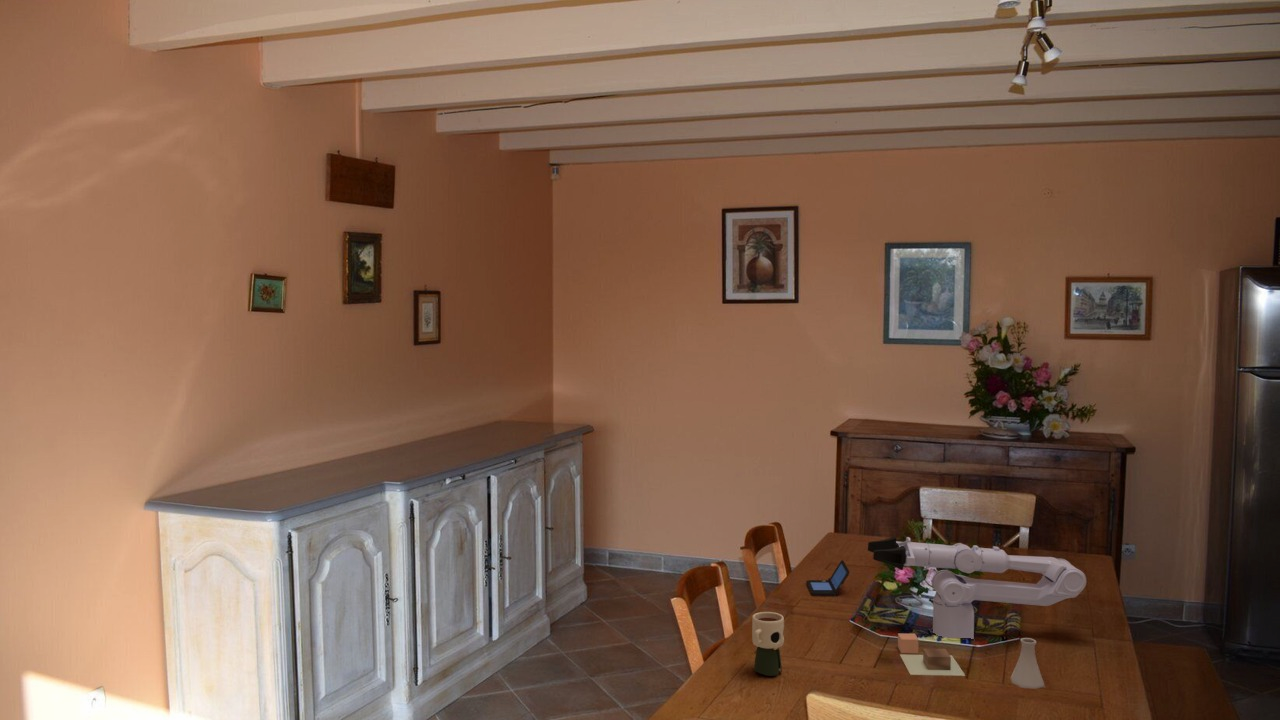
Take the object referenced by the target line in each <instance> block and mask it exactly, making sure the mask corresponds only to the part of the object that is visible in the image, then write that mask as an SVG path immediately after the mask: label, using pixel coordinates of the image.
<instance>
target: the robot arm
mask: <svg viewBox="0 0 1280 720" xmlns="http://www.w3.org/2000/svg"><path fill="white" fill-rule="evenodd" d="M897 539H898V538H897V537H896V535H893V536H891V537H887V538H885V539H882V540H880V539H879V540H874V541H869V542H868V543H867V551H868V552H870V553H873V555H872V559H873V560H874V561H877V562H881V563H884V564H887V565H890V566H893V567H895V568H896V569H899V570H900V571H903V570H904V567H910V566H911V567H912V566H913V567H927V568H938V569H942V570H938V571H937V572H935V573H934V574H933V576H932V579H931V587H932V588H933V590H934V591H935V595H934V596H933V599H932V601H933V602H932V607H933V608H932V610H933V611H932V629H933V633H935V634H936V635H938V636H942V637H947V638H971V639H974V638H975V637H974V635H975V633H974V632H975V611H974V606H973V604H972V602H973V601H983V602H984V601H985V602H994V603H995V602H996V603H1005V604H1006V603H1008V604H1017V605H1018V604H1019V605H1031V606H1043V607H1049V606H1052V605H1054V604H1057V603H1059V602H1061V601H1064V600H1066V599H1070V598H1071V599H1072V598H1073V599H1074V598H1077V597H1078V595H1080V594H1081V593H1082V591H1083V590H1084V589H1085V588H1086V585H1087V576H1086V574H1085V573H1084V572H1083V571H1082V570H1080V569H1079V568H1077V567H1075V566H1074V565H1073V564H1071V562H1070V561H1068V560H1066V559H1065V558H1057V557H1053V556H1035V555H1034V556H1033V555H1012V554H1011V555H1009V554H1008V553H1006V551H1005V550H1004V549H1000V547H998V546H992V548H990V547H988V548H985V547H979V546H978V545H972V547H970V546H968V545H967V544H963V543H962V542H957V543H955V544H953V545H948V544H941V543H940V544H939V543H925V542H914V541H913V542H912V541H911V537H909V536H906V537H905V540H904V541H897ZM948 569H957V570H959V571H961V573H966V574H971V573H973V572H986V573H996V574H1003V573H1005V572H1006V571H1007V570H1013V571H1023V572H1028V573H1036V574H1038V573H1039V574H1042V577H1041V579H1039V581H1038V582H1037V583H1028V582H1015V581H1005V580H1004V581H1003V580H994V579H982V578H981V579H979V578H972V577H968V576H966V575H963V574H956V573H954V572H953V571H951V570H948ZM974 640H975V639H974Z"/></svg>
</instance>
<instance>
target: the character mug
mask: <svg viewBox="0 0 1280 720" xmlns="http://www.w3.org/2000/svg"><path fill="white" fill-rule="evenodd" d="M751 619H752V620H751V626H752V627H751V630H752V632H751V634H752V635H751V638H752V639H751V640H752V645H754V646H756V647H757V648H756V651H755V656H754V665H753V670H754V672H755V673H758V674H761V675H764V676H772V677H773V676H778V675H780V673H783V672H782V671H783V670H782V659H781V658H782V657H781V651H780V648H781V647H783V645H784V643H785V637H784V628H785V618H784V616H783V615H782V614H781V613H778V612H774V611H760V612H757V613H754V614H752V617H751ZM779 670H780V672H779Z"/></svg>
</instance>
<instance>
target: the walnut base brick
mask: <svg viewBox="0 0 1280 720" xmlns="http://www.w3.org/2000/svg"><path fill="white" fill-rule="evenodd" d="M922 655H923V662H924V664H925V665H926V667H927V669H928V670H951V657H950V654H949V652H948V651H947V649H946V648H922Z"/></svg>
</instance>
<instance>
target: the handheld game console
mask: <svg viewBox="0 0 1280 720" xmlns="http://www.w3.org/2000/svg"><path fill="white" fill-rule="evenodd" d="M848 576H850V570H849V568H848V567H847V564H846V562H845V561H844V560H843V559H842V560H840V562H839V563H838V565H837V566H836V568H835V570H834V572H832V574H831V576H830V577H829V578H828V579H820V580H819V579H809V580H808V579H807V580H806V586H807V588H808V590H809V593H810V595H811V596H812V597H839V593H838V592H839V591H840V589H841V588H842V587H843V585H844V583H845V582H846V580H847V578H848Z"/></svg>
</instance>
